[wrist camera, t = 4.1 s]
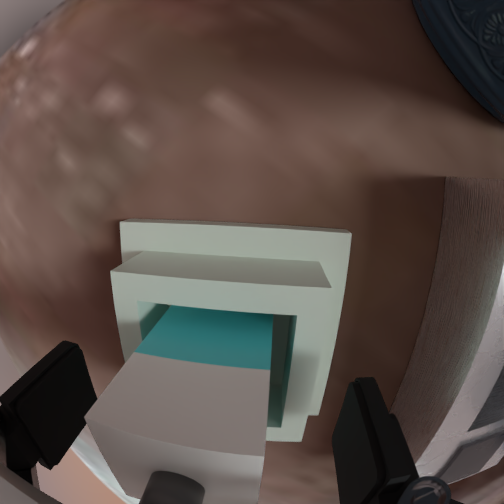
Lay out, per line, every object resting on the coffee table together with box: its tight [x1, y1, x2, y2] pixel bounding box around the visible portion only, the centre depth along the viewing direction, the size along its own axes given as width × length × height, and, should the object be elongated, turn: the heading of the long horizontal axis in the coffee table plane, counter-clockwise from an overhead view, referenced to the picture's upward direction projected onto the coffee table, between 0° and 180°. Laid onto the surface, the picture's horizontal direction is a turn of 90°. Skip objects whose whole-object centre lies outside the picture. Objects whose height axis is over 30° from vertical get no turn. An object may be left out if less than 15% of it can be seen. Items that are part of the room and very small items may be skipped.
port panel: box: [389, 177, 504, 485], centre depth 10 cm, size 18×10×5 cm, turn 178°
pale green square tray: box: [110, 219, 352, 442], centre depth 12 cm, size 10×10×4 cm
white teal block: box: [84, 305, 273, 504], centre depth 8 cm, size 4×4×9 cm
